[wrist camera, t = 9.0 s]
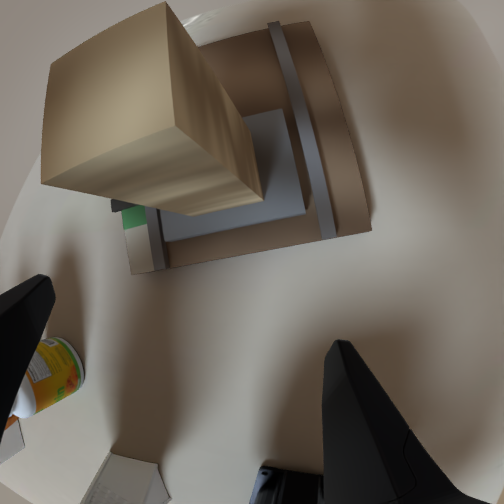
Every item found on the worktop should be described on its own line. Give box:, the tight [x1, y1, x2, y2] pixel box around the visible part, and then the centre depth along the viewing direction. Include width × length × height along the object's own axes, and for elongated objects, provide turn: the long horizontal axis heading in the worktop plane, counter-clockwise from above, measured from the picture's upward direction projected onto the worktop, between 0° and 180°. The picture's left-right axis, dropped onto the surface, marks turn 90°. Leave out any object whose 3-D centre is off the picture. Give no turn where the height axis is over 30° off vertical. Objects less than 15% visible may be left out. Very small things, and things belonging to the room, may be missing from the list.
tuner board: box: [122, 21, 372, 275], centre depth 18 cm, size 15×15×2 cm
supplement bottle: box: [9, 337, 84, 418], centre depth 18 cm, size 5×5×10 cm
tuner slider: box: [41, 1, 306, 242], centre depth 12 cm, size 6×12×12 cm, turn 101°
